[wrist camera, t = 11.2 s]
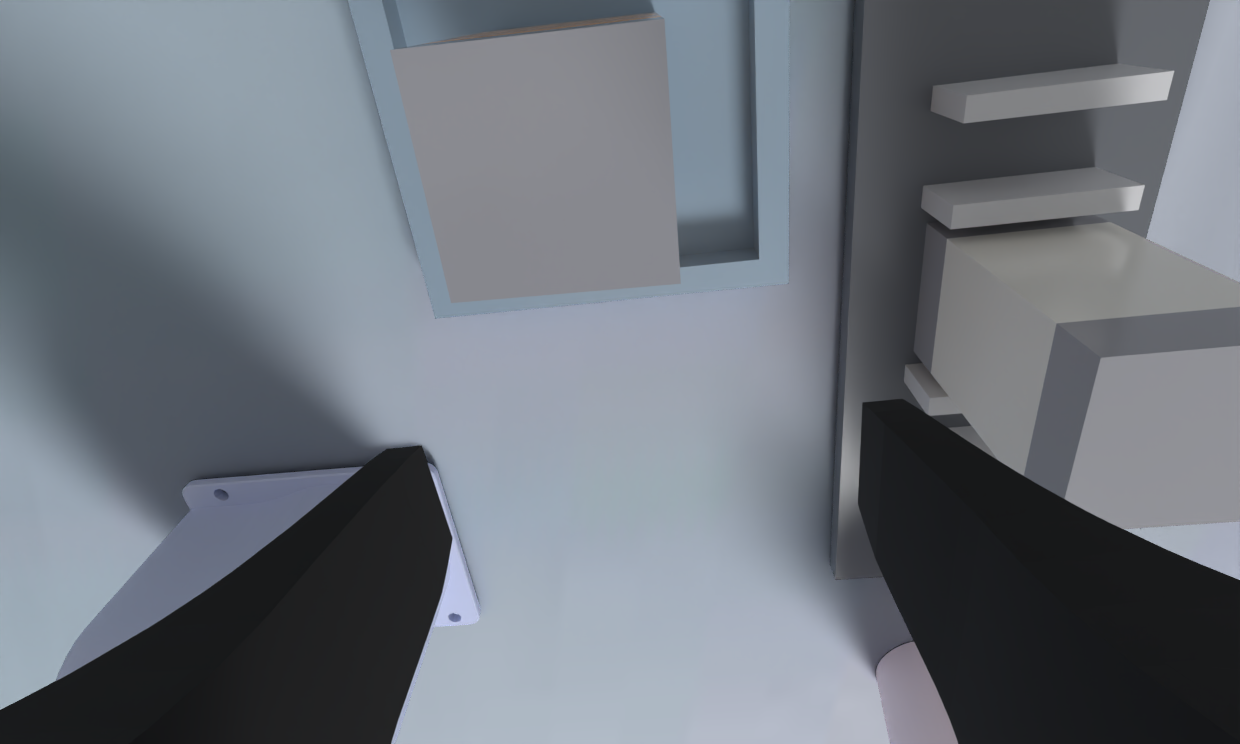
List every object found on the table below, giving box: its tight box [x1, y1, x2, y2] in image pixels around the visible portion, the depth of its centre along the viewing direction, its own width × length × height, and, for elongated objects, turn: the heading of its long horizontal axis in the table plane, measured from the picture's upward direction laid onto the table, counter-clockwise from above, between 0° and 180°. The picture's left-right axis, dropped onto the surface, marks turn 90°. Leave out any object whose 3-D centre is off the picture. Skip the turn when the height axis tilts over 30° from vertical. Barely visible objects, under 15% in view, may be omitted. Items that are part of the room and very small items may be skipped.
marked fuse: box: [390, 12, 681, 303], centre depth 14 cm, size 4×4×8 cm
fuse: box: [914, 215, 1240, 529], centre depth 16 cm, size 4×4×8 cm
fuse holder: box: [830, 0, 1210, 580], centre depth 19 cm, size 8×23×3 cm, turn 7°
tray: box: [348, 0, 790, 319], centre depth 17 cm, size 10×10×2 cm
